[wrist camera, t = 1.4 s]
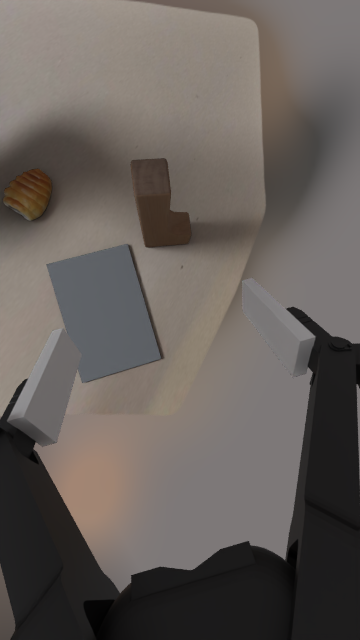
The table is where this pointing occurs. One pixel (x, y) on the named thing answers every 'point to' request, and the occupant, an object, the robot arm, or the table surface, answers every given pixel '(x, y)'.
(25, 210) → the pastry
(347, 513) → the robot arm
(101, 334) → the mat
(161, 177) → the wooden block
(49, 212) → the table surface
